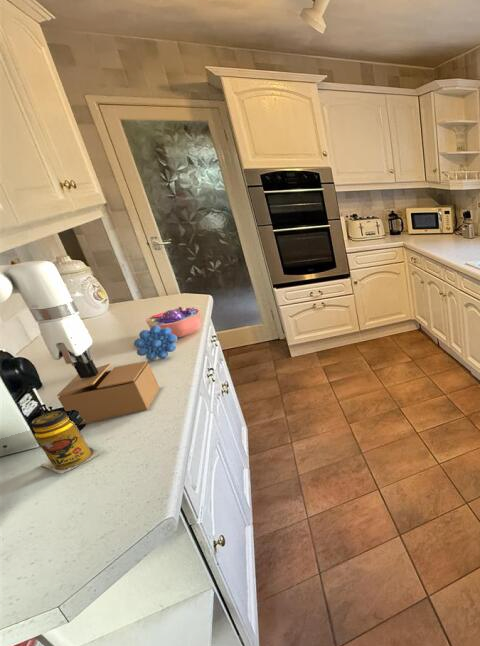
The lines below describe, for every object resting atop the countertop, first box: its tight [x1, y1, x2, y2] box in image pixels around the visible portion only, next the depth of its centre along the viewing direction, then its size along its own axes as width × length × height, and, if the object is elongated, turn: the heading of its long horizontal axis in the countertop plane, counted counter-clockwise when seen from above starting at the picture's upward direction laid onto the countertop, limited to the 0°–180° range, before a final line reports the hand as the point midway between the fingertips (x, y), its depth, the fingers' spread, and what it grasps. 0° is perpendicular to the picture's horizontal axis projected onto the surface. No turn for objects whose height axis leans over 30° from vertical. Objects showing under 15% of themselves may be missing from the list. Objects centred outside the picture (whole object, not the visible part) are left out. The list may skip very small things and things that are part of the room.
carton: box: [57, 360, 160, 426], centre depth 108 cm, size 15×13×9 cm
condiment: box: [30, 410, 104, 475], centre depth 88 cm, size 7×8×12 cm
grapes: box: [133, 326, 178, 361], centre depth 136 cm, size 12×7×12 cm, turn 125°
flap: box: [56, 362, 112, 397], centre depth 105 cm, size 7×13×1 cm, turn 28°
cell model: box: [145, 306, 202, 339], centre depth 155 cm, size 17×20×11 cm
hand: (89, 375), depth 105 cm, fingers closed
